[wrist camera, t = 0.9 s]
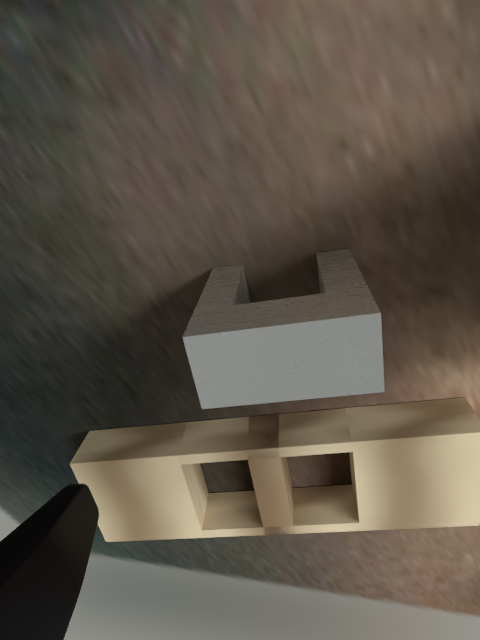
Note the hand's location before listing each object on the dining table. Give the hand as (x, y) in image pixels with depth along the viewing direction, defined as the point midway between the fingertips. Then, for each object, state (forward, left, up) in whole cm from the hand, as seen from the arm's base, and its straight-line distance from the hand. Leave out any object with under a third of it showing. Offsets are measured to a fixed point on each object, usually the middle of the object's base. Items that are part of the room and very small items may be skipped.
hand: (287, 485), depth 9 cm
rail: (+2, +10, -11) cm, 15 cm away
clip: (0, 0, -11) cm, 11 cm away
